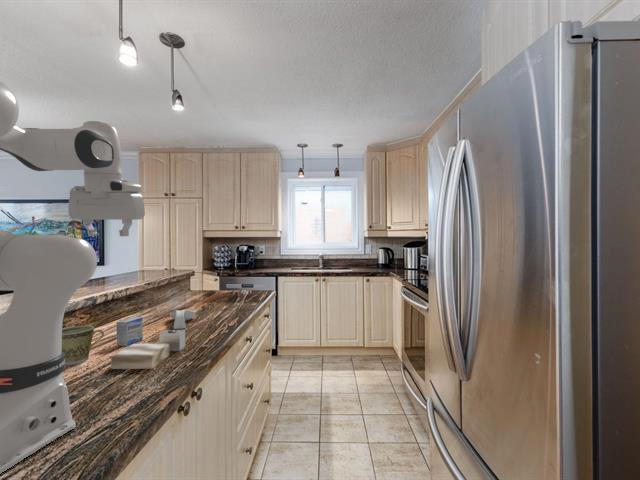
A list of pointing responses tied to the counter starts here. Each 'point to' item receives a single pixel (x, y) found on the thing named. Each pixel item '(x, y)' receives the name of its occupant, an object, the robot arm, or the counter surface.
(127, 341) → the medicine box
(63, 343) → the ceramic cup
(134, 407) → the counter surface
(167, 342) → the block
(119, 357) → the stand
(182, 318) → the spoon rest
